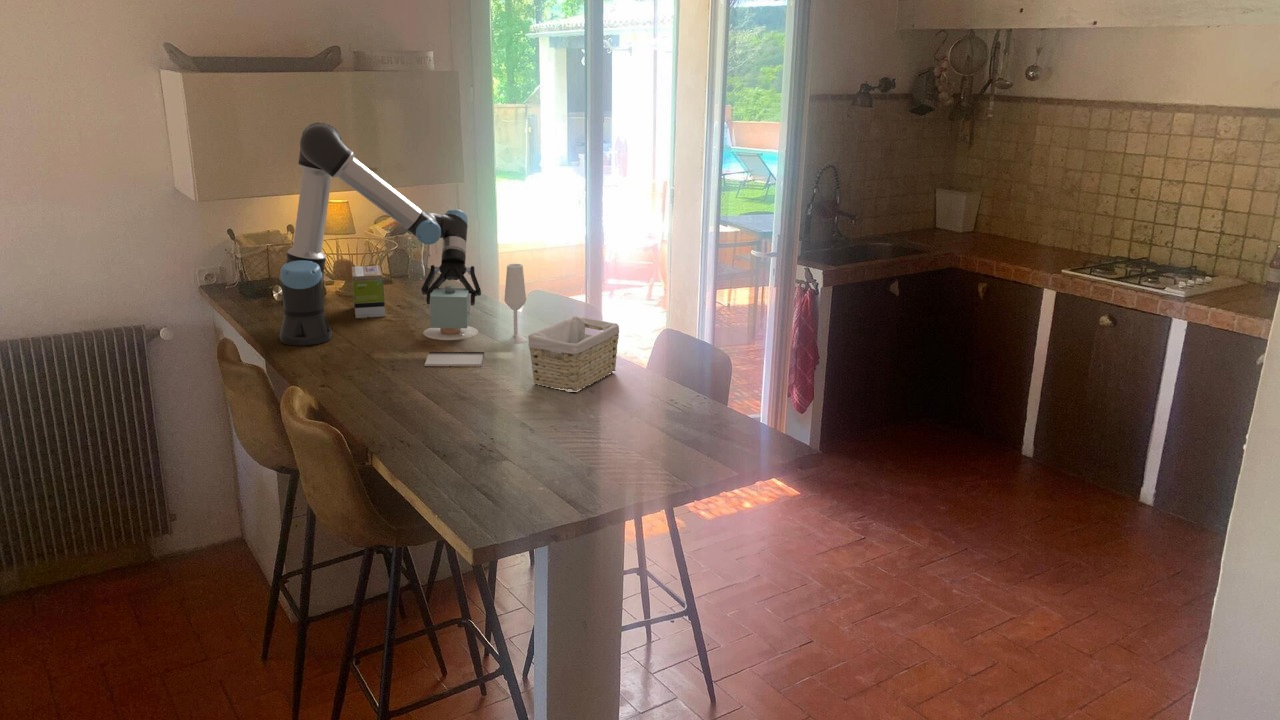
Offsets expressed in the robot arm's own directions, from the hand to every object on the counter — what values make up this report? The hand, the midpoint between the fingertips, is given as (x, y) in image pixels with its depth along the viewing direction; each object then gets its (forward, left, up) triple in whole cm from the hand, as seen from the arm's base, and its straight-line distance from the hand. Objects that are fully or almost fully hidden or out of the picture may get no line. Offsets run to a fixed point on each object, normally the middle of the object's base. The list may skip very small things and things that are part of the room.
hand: (449, 313), depth 294 cm
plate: (+2, +2, -8) cm, 9 cm away
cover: (+1, +1, -4) cm, 4 cm away
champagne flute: (+14, -15, -9) cm, 22 cm away
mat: (-11, -16, -8) cm, 21 cm away
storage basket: (0, -53, -9) cm, 54 cm away
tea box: (+1, +44, -9) cm, 45 cm away
